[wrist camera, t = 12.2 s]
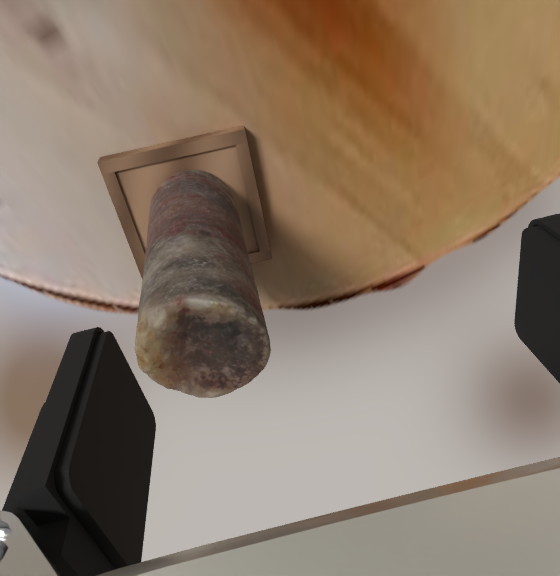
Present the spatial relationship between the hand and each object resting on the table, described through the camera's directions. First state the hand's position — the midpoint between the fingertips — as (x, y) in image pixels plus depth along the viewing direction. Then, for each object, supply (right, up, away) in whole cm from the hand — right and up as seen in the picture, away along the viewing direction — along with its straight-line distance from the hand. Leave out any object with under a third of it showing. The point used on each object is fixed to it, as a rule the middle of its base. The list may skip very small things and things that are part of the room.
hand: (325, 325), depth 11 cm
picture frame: (-9, +8, +32) cm, 34 cm away
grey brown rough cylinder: (-8, +8, +31) cm, 33 cm away
